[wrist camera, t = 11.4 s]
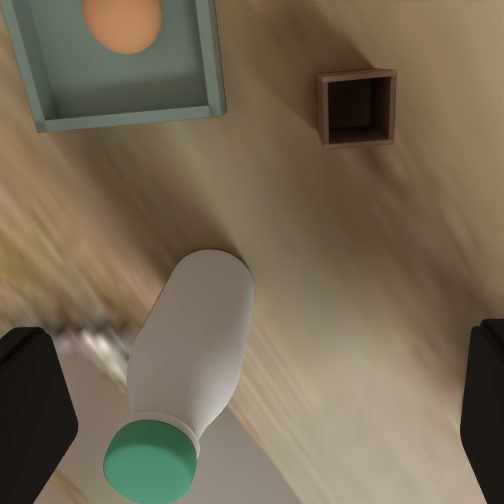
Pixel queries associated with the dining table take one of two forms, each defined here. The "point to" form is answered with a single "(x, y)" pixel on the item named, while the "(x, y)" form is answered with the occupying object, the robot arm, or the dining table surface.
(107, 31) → the ball
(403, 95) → the dining table surface
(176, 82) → the tray
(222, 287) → the milk bottle
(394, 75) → the wooden box
